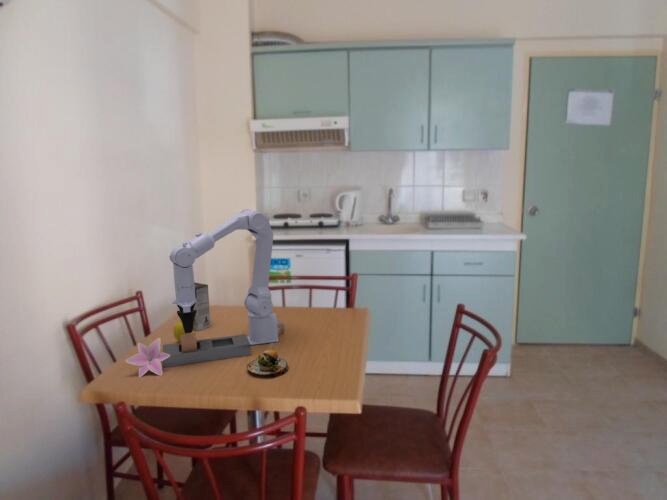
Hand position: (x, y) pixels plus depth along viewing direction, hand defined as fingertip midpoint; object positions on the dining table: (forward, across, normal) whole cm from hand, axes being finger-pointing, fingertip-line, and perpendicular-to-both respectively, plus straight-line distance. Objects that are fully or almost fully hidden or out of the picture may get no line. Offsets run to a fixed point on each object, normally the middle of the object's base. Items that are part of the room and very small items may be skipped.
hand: (188, 328), depth 151 cm
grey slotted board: (+9, 0, +5) cm, 11 cm away
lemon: (+10, -14, -2) cm, 17 cm away
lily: (+10, +7, -12) cm, 17 cm away
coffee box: (+10, -30, +3) cm, 32 cm away
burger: (+10, +18, +21) cm, 29 cm away
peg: (+9, 0, 0) cm, 9 cm away
